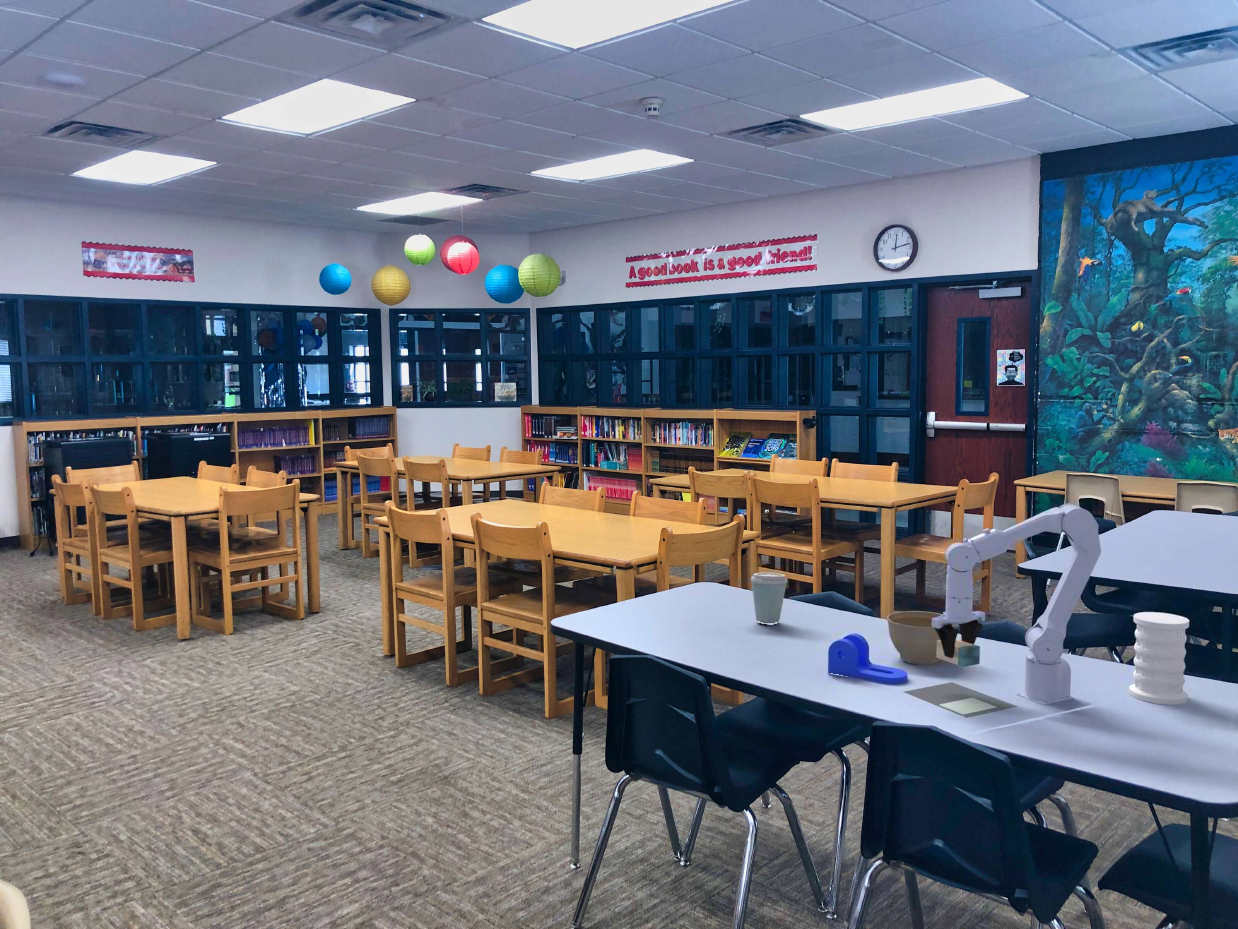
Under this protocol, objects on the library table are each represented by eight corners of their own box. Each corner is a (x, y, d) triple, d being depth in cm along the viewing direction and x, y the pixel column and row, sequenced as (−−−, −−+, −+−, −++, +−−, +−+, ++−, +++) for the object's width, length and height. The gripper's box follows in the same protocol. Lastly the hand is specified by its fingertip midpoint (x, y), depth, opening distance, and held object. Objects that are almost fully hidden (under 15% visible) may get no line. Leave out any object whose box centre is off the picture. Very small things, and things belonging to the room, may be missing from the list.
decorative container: (1184, 692, 219) (1187, 614, 218) (1191, 707, 209) (1194, 626, 207) (1127, 685, 224) (1130, 609, 223) (1130, 701, 214) (1133, 621, 212)
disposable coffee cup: (750, 618, 290) (750, 569, 289) (786, 619, 289) (787, 569, 287) (750, 627, 280) (750, 576, 278) (788, 628, 278) (788, 577, 277)
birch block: (952, 654, 224) (952, 637, 224) (979, 663, 217) (980, 646, 216) (936, 657, 222) (936, 640, 221) (963, 667, 215) (963, 649, 214)
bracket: (828, 674, 235) (828, 638, 234) (842, 666, 242) (843, 631, 241) (899, 688, 224) (899, 650, 223) (912, 679, 231) (913, 643, 230)
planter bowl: (884, 650, 255) (885, 609, 254) (948, 653, 252) (949, 612, 251) (888, 668, 240) (889, 625, 239) (956, 671, 236) (957, 627, 235)
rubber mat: (951, 683, 227) (951, 681, 227) (1017, 708, 210) (1017, 705, 210) (903, 693, 220) (903, 691, 220) (966, 719, 203) (966, 717, 203)
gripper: (969, 589, 225) (967, 646, 226) (922, 596, 218) (921, 655, 219) (993, 595, 218) (991, 654, 220) (945, 602, 212) (944, 663, 213)
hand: (957, 655), depth 219 cm, fingers closed on birch block, 5 cm apart
